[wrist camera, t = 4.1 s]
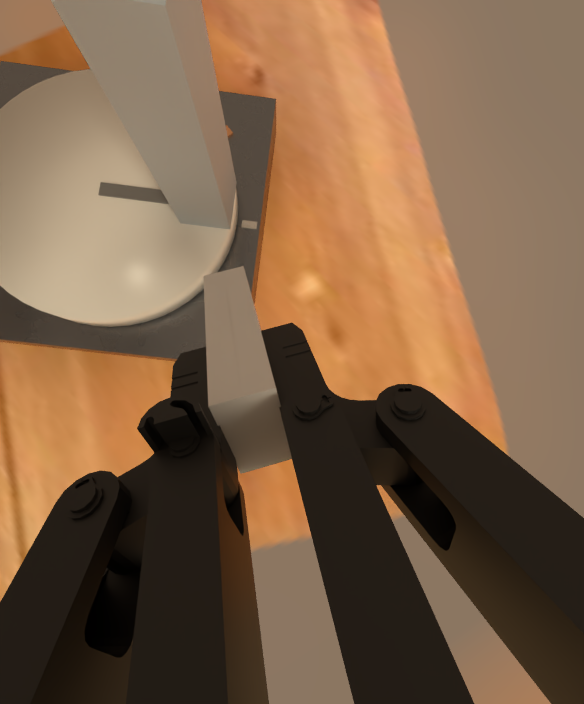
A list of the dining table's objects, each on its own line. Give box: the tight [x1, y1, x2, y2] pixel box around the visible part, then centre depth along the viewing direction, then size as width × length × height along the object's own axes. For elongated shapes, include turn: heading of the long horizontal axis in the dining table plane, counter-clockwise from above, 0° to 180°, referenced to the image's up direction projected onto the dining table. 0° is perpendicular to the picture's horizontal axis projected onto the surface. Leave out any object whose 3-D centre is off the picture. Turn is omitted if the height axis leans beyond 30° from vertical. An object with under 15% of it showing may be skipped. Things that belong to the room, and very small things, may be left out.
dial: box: [0, 0, 238, 327], centre depth 15 cm, size 16×16×14 cm
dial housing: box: [0, 61, 276, 361], centre depth 24 cm, size 19×19×3 cm
